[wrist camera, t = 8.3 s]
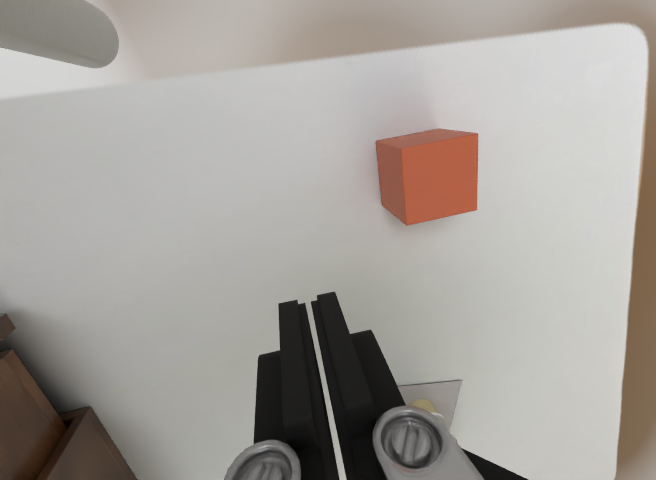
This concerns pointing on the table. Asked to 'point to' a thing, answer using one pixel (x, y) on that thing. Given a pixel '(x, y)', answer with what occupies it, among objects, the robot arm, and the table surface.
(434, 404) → the stacked layers on plate
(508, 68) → the table surface
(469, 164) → the block
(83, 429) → the cabinet
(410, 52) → the table surface
